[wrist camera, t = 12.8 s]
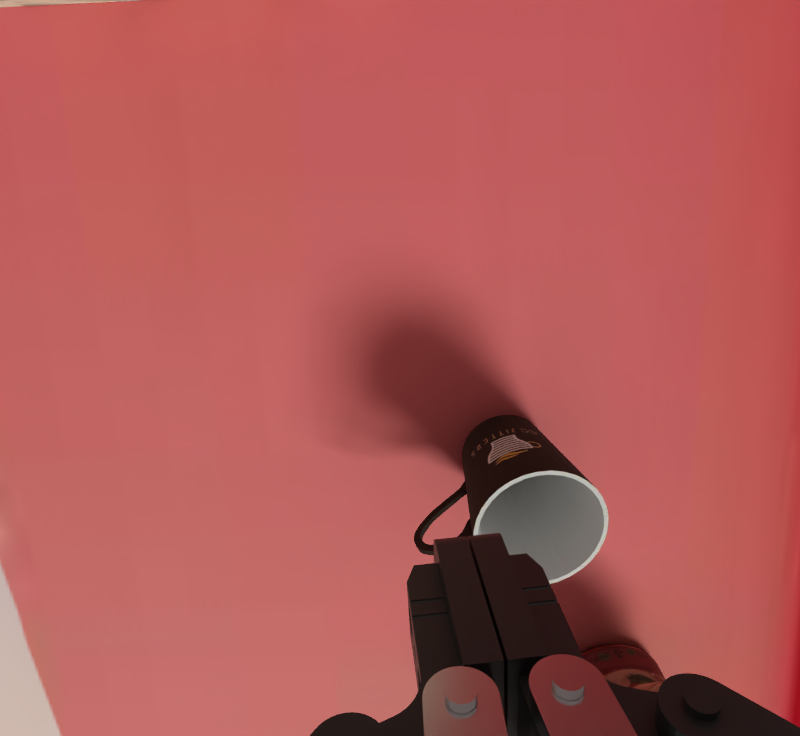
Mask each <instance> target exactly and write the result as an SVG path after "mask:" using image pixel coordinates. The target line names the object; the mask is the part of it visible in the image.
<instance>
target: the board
mask: <svg viewBox="0 0 800 736" xmlns="http://www.w3.org/2000/svg"><path fill="white" fill-rule="evenodd" d="M117 1H137V0H0V7H16V6H36V5H56V4H76V3H97V2H117Z"/></svg>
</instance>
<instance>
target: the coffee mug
mask: <svg viewBox="0 0 800 736" xmlns="http://www.w3.org/2000/svg"><path fill="white" fill-rule="evenodd" d="M462 461H463V468H464V476H465V482H464V483H463V485H462V486H461V488H460V489H459V490H457V491H456V492H455V493H454V494H453V495H451V496H450V497H449V498H448V499H446V500H445V501H444V502H443V503H442V504H440V505H439V506H438V507H437V508H436V509H434V510H433V511H432V512H431V513H430V514H429V515H428V516H427V517H426V518H425V520H424V521H423V522H422V523H421V524H420V526H419V527H418V529H417V530H416V532H415V535H414V542H415V544H416V546H417V548H418V549H419V551H420V552H421V553H423V554H427V555H434V545H428V544H425V543H424V542H423V541H422V538H423V535H424V533H425V532H426V530H427V529H428V528H429V526H430V525H431V523H432V522H433V521H434V520H435V519H436V518H438V517H439V516H440V515H441V514H442V513H444V512H445V511H446V510H447V509H448V508H449V507H451V506H452V505H453V504H454V503H456V502H457V501H458V500H459V499H460V498H461V497H463V496H464V495H466V494H467V498H468V505H469V513H470V519H469V520H468V521H467V524H466V526H465V528H464V530H463V532H462V533H461V534H460V535H459V536H458V537H465V536H466V538H467V537H468V536H473V535H482V534H492V533H500V534H501V535H502V538H503V540H504V543H505V545H506V548H507V551H508V553H509V555H515V554H524V553H527V554H528V555H529V556H530V557H531V558H532V559H534V560H535V561H536V562H537V563H538V564H539V565H540V566H541V567H543V570H544V572H545V574H546V576H547V578H548V581H549V583H550V584H552V583H556V582H559V581H561V580H564V579H566V578H568V577H570V576H572V575H573V574H575V573H577V572H578V571H580V570H581V569H582V568H584V567H585V566H586V565H587V564H588V563H589V562H590V561H591V560H592V559H593V558H594V557H595V555H596V554H597V553H598V552H599V550H600V548H601V546H602V544H603V543H604V540H605V537H606V534H607V531H608V522H609V517H608V510H607V506H606V504H605V501H604V499H603V497H602V495H601V494H600V493H599V491H598V490H597V489H596V487H595V486H594V485H593V484H592V483H591V482H590V481H589V480H588V479H587V478H586V477H585V476H584V475H583V474H582V473H581V472H580V471H579V470H578V469H577V468H576V467H575V466H574V465H573V464H572V463H571V462H570V461H569V460H568V459H567V458H566V457H565V456H564V455H563V454H562V453H561V452H560V451H559V450H558V449H557V448H556V447H555V446H554V445H553V444H552V443H551V442H550V441H549V440H548V439H547V438H546V437H545V436H544V435H543V434H542V433H541V432H540V431H539V430H538V429H537V428H536V427H535V426H534V425H533V424H532V423H531V422H529V421H527V420H526V419H524V418H521V417H518V416H511V415H503V416H497V417H493V418H490V419H488V420H486V421H484V422H482V423H481V424H479V425H478V426H477V427H476V428H475V429H474V430H473V431H472V432H471V433H470V434H469V436H468V437H467V439H466V441H465V444H464V447H463V451H462Z"/></svg>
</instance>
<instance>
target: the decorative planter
mask: <svg viewBox="0 0 800 736" xmlns="http://www.w3.org/2000/svg"><path fill="white" fill-rule="evenodd" d="M582 656H583V658H584V660H586V661H588V662H589V663H591V664H592V665H594V666H595V667H596V668H597V669H598V670H599V671H600V672H601V673H602V675H603V676H604V678H605V679H606V680H608V681H611V682H613V683H615V684H618V685H621V686H625V687H629V688H635V689H641V690H647V691H654V692H658V691H659V688H660V686H661V684H662V683H663V682H664V681H665V678H664V676H663V674H662V672H661V670H660V668H659V667H658V665H657V663H656V662H655V660H654V659H653V658H652V657H651V656H650V655H649V654H647V653H646V652H645V651H643V650H641V649H638V648H635V647H631V646H626V645H609V646H602V647H598V648H594V649H591V650H589V651H587V652H584V653H582Z"/></svg>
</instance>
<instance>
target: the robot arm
mask: <svg viewBox="0 0 800 736" xmlns="http://www.w3.org/2000/svg"><path fill="white" fill-rule="evenodd" d="M407 591H408V605H409V620H410V634H411V642H412V649H413V656H414V664H415V671H416V678H417V686H418V693H417V695H416V697H415V699H414V700H413V702H412V703H411V704H410V705H409V706H408V707H407V708H406V709H405V710H403V711H402V712H401V713H399V714H397V715H395V716H394V717H391V718H389V719H387V720H385V721H383V722H380V723H378V722H377V721H376V720H375V719H373V718H372V717H369V716H367V715H365V714H361V713H353V712H351V713H343V714H338V715H336V716H333V717H331V718H329V719H327V720H325V721H324V722H323V723H321V724H320V725H319V726H318V727H317V728H316V729H315V730H314V731H313V733H312V734H311V735H310V736H800V728H799V727H797V726H796V725H794V724H792V723H790V722H788V721H787V720H785V719H783V718H781V717H780V716H778V715H776V714H774V713H772V712H771V711H769V710H767V709H765V708H763V707H762V706H760V705H758V704H756V703H754V702H753V701H751V700H749V699H747V698H746V697H744V696H742V695H740V694H738V693H737V692H735V691H733V690H731V689H729V688H728V687H726V686H724V685H722V684H720V683H719V682H717V681H715V680H713V679H710V678H708V677H705V676H701V675H697V674H678V675H674V676H671V677H669V678H668V679H666V680H665V681H664V682H663V683H662V684H661V686H660V688H659V691H658V692H654V691H647V690H641V689H635V688H629V687H625V686H621V685H618V684H615V683H613V682H611V681H608V680H606V679H605V678H604V676H603V675H602V673H601V672H600V671H599V670H598V669H597V668H596V667H595V666H594V665H592V664H591V663H589V662H588V661H586V660H584V658H583V656H582V654H581V652H580V649H579V647H578V645H577V643H576V641H575V638H574V636H573V634H572V632H571V629H570V627H569V625H568V623H567V621H566V618H565V616H564V614H563V612H562V610H561V607H560V605H559V603H557V598H556V596H555V594H554V592H553V590H552V589H551V586H550V583H549V581H548V578H547V576H546V574H545V572H544V570H543V567H541V566H540V565H539V564H538V563H537V562H536V561H535V560H534V559H532V558H531V557H530V556H529V555H528V554H527V553H524V554H515V555H509V553H508V551H507V548H506V545H505V543H504V540H503V538H502V535H501V534H500V533H492V534H482V535H473V536H468V537H467V538H466V536H465V537H455V538H446V539H436V540H434V563H433V564H423V565H414V567H413V569H412V571H411V574H410V576H409V579H408V581H407Z"/></svg>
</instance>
